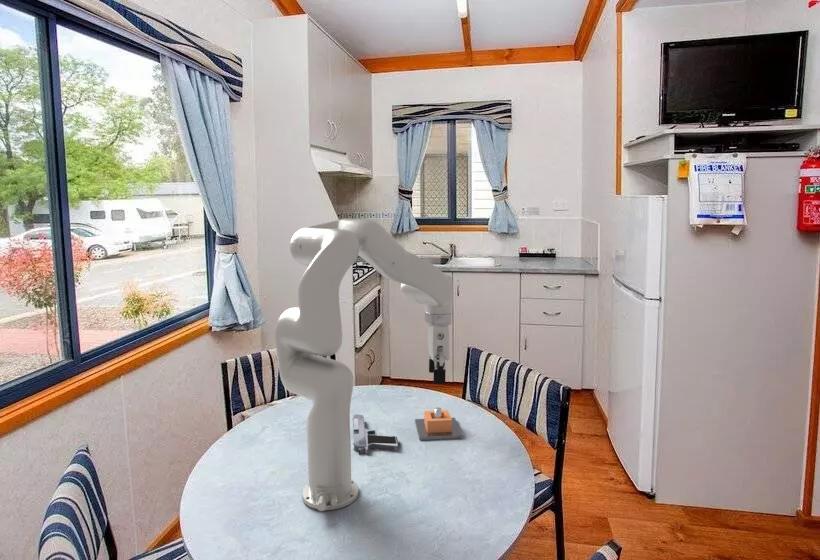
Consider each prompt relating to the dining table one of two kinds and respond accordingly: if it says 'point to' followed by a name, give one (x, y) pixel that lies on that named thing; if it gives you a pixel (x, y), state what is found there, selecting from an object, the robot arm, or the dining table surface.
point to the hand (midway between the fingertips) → (436, 377)
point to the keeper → (438, 435)
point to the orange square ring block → (438, 422)
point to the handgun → (370, 438)
